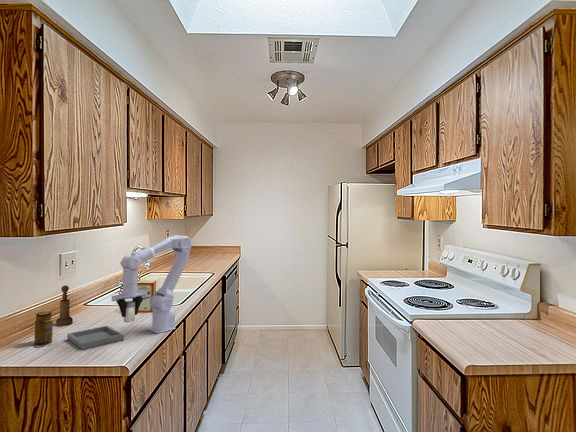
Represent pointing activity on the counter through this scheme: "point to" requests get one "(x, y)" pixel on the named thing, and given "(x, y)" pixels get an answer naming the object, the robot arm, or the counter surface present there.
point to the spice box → (151, 290)
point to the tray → (94, 337)
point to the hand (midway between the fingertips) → (129, 315)
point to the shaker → (130, 311)
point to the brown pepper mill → (64, 309)
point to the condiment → (43, 330)
